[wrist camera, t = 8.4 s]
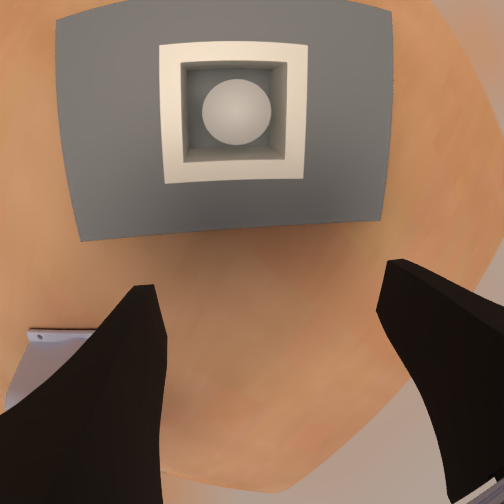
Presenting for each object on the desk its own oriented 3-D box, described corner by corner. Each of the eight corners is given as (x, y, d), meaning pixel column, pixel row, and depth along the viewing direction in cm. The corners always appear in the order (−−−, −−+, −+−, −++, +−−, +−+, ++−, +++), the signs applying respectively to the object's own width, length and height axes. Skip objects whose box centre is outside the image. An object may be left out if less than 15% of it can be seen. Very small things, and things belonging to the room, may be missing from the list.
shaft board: (86, 234, 17) (50, 285, 12) (63, 23, 11) (12, 4, 6) (373, 214, 19) (420, 256, 14) (382, 14, 12) (440, -3, 8)
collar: (174, 164, 15) (164, 183, 12) (170, 56, 12) (159, 45, 9) (283, 161, 15) (303, 178, 12) (286, 55, 13) (307, 45, 10)
